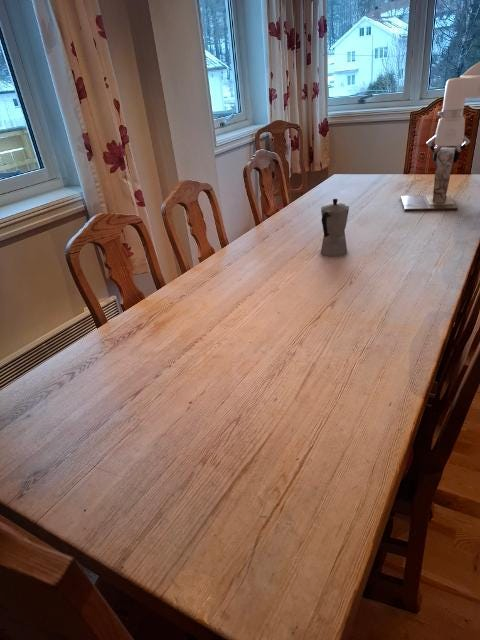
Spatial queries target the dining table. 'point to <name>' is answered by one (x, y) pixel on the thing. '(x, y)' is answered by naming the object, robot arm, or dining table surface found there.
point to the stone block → (442, 173)
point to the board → (427, 203)
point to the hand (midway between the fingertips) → (445, 161)
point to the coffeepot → (334, 229)
